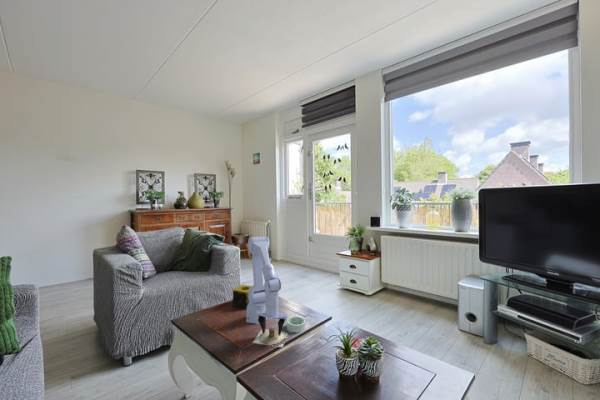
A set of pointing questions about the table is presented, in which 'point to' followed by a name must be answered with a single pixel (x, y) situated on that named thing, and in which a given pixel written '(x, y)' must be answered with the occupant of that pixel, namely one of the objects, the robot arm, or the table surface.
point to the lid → (271, 337)
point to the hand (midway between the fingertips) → (271, 333)
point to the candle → (241, 296)
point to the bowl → (296, 324)
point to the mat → (257, 340)
